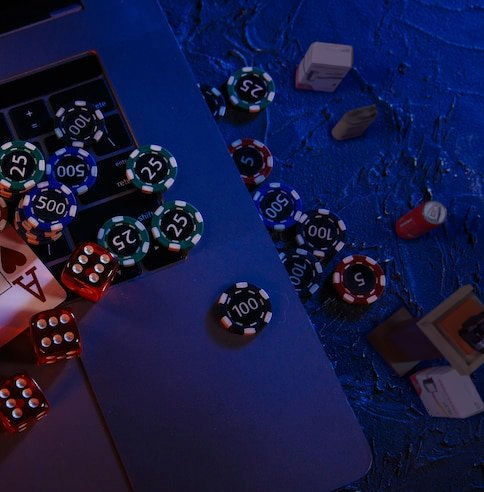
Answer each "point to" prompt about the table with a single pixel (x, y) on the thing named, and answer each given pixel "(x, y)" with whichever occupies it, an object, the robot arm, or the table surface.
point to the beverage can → (421, 220)
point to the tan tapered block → (354, 122)
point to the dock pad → (444, 340)
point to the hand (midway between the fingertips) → (473, 326)
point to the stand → (402, 342)
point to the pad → (462, 322)
